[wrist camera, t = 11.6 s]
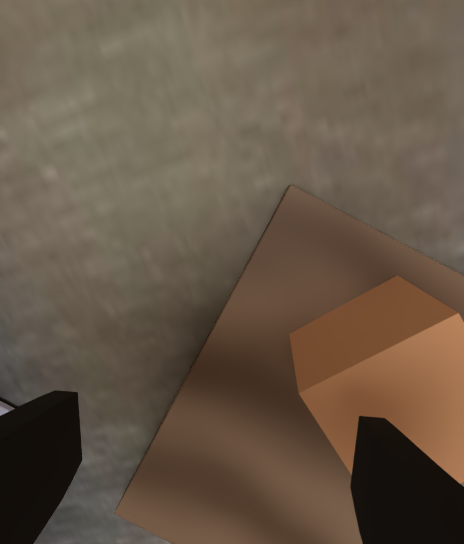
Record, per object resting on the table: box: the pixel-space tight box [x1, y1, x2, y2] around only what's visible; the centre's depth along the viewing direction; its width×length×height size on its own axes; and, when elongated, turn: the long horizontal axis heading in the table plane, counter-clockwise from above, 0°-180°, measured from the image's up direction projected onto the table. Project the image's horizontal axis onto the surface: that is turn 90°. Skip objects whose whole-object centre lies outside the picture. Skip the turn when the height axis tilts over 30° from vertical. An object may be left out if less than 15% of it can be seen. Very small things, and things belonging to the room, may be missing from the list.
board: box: [114, 185, 464, 544], centre depth 18 cm, size 20×14×2 cm
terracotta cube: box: [289, 275, 464, 483], centre depth 14 cm, size 5×5×5 cm
